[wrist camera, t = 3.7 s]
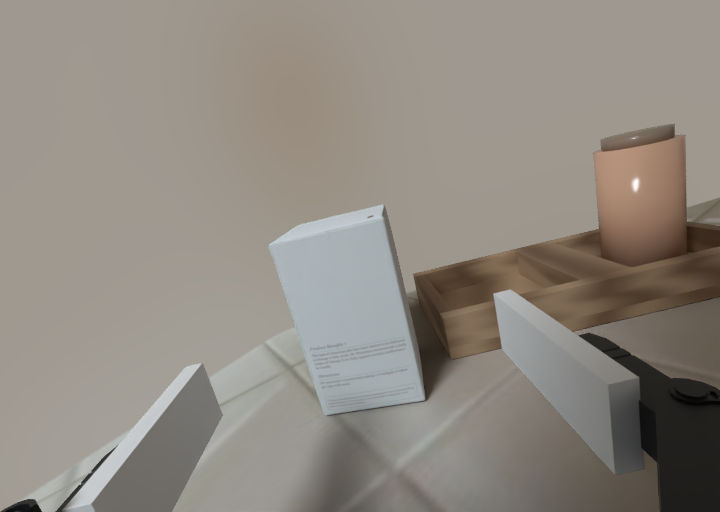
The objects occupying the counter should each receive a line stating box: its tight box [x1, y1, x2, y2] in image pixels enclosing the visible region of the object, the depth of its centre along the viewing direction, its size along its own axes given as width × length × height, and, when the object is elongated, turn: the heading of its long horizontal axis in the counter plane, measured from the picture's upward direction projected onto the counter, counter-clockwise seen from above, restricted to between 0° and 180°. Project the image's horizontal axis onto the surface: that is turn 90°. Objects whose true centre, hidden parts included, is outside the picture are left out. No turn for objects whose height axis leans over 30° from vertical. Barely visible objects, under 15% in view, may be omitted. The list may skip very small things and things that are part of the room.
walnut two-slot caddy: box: [413, 222, 720, 360], centre depth 31 cm, size 26×12×4 cm, turn 93°
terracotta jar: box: [593, 124, 687, 268], centre depth 30 cm, size 6×6×12 cm
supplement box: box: [269, 205, 426, 416], centre depth 25 cm, size 7×7×13 cm
